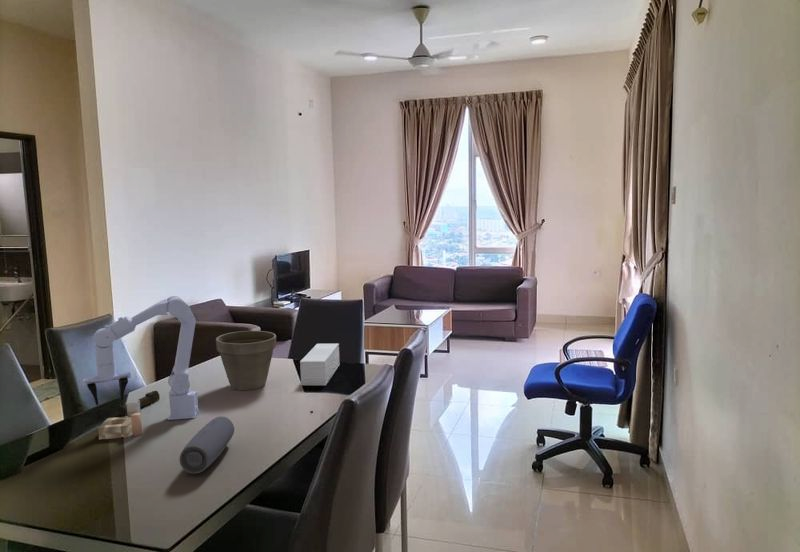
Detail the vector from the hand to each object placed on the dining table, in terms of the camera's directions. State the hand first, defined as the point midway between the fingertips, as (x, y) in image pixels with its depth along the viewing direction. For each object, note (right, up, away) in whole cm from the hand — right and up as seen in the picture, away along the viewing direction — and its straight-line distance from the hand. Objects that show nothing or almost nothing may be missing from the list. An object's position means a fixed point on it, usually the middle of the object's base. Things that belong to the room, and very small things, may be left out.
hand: (109, 401), depth 193 cm
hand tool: (0, -8, +23) cm, 24 cm away
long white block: (+65, -2, +61) cm, 89 cm away
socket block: (+4, -10, -3) cm, 11 cm away
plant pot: (+36, -4, +47) cm, 59 cm away
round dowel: (+12, -10, -4) cm, 16 cm away
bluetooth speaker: (+43, -12, -25) cm, 52 cm away
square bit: (+6, -9, +6) cm, 12 cm away
